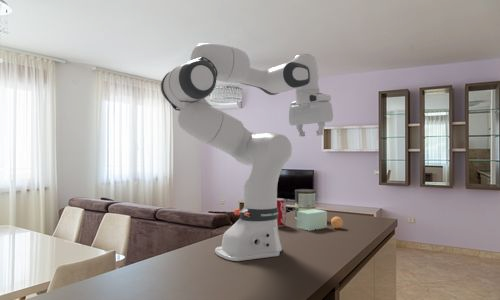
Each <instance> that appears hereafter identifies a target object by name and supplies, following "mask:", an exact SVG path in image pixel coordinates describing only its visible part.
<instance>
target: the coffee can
mask: <svg viewBox="0 0 500 300" xmlns="http://www.w3.org/2000/svg"><path fill="white" fill-rule="evenodd" d="M316 196H317V195H316V189H311V188H310V189H309V188H299V189H295V190H294V208H295V209H294V214H295V215H294V216H295V217H294V219H295V220H297V211H303V210H311V209H317V208H316V206H317V204H316V199H317V198H316Z"/></svg>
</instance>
